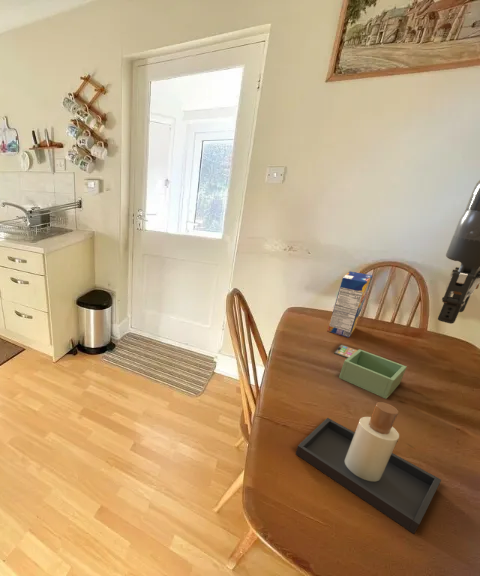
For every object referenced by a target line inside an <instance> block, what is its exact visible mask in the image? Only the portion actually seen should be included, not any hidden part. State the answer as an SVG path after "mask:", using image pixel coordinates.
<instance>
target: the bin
mask: <svg viewBox="0 0 480 576" xmlns="http://www.w3.org/2000/svg"><path fill="white" fill-rule="evenodd" d="M357 350H358V351H356V352H355V353H354V354H352V355H351V356H350V357H349V358H346V359H344V361H343V364H342V367H341V369H340V373H339V377H338V379H341V380H343V381H345V382H347V383H349V384H351V385H354V386H356V387H358V388H361V389H363V390H365V391H367V392H369V393H372V394H374V395H376V396H378V397H380V398H383V399H385V400H387V399H388V398H389V397H390V396H391V395H392V394H393V392H394V391H395V390H396V389H398V387H399V386H400V384H401V382H402V379H403V377H404V375H405V372H406V370H407V369H408V368H407V367H408V366H407V365H404V364H401V363H398V362H396V361H393V360H391V359H387V358H385V357H382V356H380V355H377V354H374V353H372V352H368V351H367V350H363V349H360V348H359V349H357Z"/></svg>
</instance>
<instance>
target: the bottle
mask: <svg viewBox="0 0 480 576" xmlns="http://www.w3.org/2000/svg"><path fill="white" fill-rule="evenodd" d="M398 415H399V410H398V409H397V408H396V407H395V406H393V405H392V404H390V403H387V402H383V401H379V402H376V404H375V406H374V409H373V411H372V414H371V415H370V416H362V417H360V419H359V420H358V423H357V425H356V428H355V431H354V432H355V433H354V436H353V439H352V441H351V444H350V447H349V449H348V452H347V455H346V457H345V465H346V466H347V468H348V469H349V470H350V471H351V472H352V473H354V474H355V475H356V476H358V477H360V478H362V479H364V480H367V481H372V482H376V481H379V480H380V479H381V477H382V475H383V472H384V470H385V468H386V466H387V464H388V461H389V459H390V457H391V455H392V453H394V450H395V448H396V446H397V443H398V441H399V439H400V433H399V431H397V429H396V428H395V427H393V426H394V424H395V421H396V419H397V417H398Z"/></svg>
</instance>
